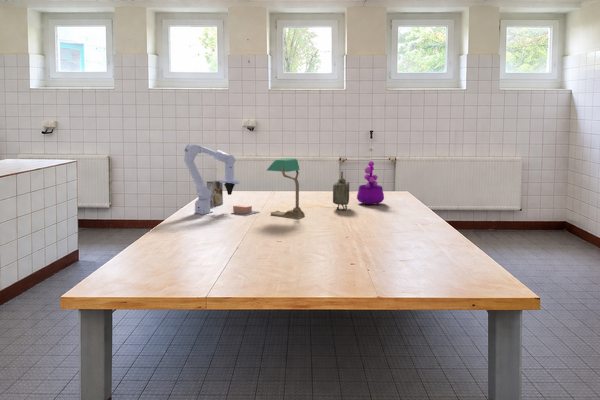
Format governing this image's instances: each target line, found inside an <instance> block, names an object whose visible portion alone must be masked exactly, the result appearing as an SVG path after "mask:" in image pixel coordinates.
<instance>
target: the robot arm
mask: <svg viewBox="0 0 600 400" xmlns="http://www.w3.org/2000/svg"><path fill="white" fill-rule="evenodd" d="M183 152H184V163H185V165H186V168H187V169H188V172H189V174H190V176H191V178H192V179H193V182H194V184H195V188H196V194H197V196H198V198H197V200H195V202H194V212H193V214H200V215H206V214H210V213H211V214H212V213H213V212H214V211H213V210H211V205H210V196H211V191H210V190H209V189H208V188H207V184H205V182H204V180H203V178H202V176H201V174H200V172H199V169H198V167H197V166H196V164H195V158H196V157H197V156H198V155H199V154H202V153H203V154H205V155H209V156H212V157H213V158H214V160H217V161H219V162H222V163H224V179H219V181H220V183H222V184H223V186H224V187H225V189H226V193H227V195H228V196H230V195H232V193H233V190H234V187H235V185H240V180H237V179H236V180H235V165H234V164H235V162H236V158H235V156H233V155H232V154H229V153H228V152H224V151H222V150H221V149H219V150H218V149H217V150H213V149H210V148H208V147H205V146H203V145H198V144H193V143H188V144H186V146H185V148H184V149H183Z"/></svg>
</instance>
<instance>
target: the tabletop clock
mask: <svg viewBox="0 0 600 400" xmlns="http://www.w3.org/2000/svg"><path fill="white" fill-rule="evenodd" d="M343 177H344V171H343V170H342V171H340V178H339V179H338V180H337V182H334V184H333V185H332V203H333V204H334V205H337V207H336V209H337V210H339V209H340V205H341V207H342V211H346V209H347V208H348V204H349V202H350V182H349V181H348V182H347V181H346V179H345V178H343Z"/></svg>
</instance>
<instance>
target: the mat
mask: <svg viewBox="0 0 600 400" xmlns="http://www.w3.org/2000/svg"><path fill="white" fill-rule="evenodd" d="M259 213H260V211H257V210H252V212H251V213H247V214H245V213H236V212H231V213H230V214H231V215H237V216H245V217H246V216H250V215H255V214H259Z"/></svg>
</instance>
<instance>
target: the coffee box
mask: <svg viewBox="0 0 600 400" xmlns="http://www.w3.org/2000/svg"><path fill="white" fill-rule="evenodd" d="M206 186H207V188H208V189H209V190H210V191H211V196H210V206H215V207H216V206H219V205H223V204H224V198H223V197H224V195H223V183H220V180H209V181H206Z"/></svg>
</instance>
